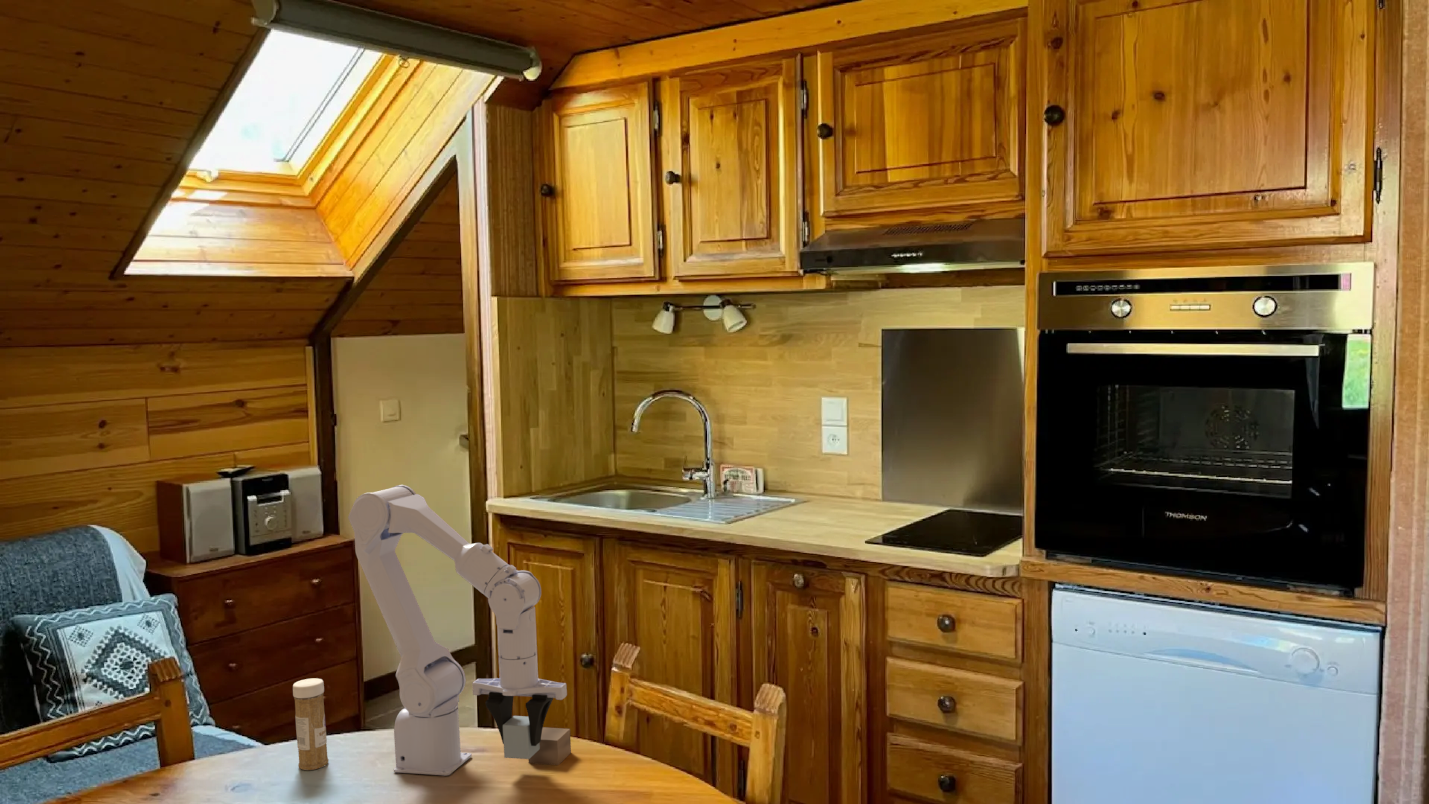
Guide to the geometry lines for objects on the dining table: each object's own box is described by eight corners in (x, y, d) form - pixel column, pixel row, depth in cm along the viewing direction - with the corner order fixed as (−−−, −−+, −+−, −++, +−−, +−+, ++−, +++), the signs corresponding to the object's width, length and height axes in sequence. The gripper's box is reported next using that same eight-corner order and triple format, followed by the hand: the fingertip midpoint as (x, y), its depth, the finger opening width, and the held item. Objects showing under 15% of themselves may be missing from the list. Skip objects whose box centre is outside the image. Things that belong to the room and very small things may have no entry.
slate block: (504, 757, 163) (502, 725, 162) (515, 747, 167) (513, 715, 166) (529, 759, 162) (527, 726, 161) (539, 749, 166) (538, 717, 165)
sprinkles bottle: (331, 766, 170) (326, 682, 169) (301, 773, 168) (296, 688, 167) (324, 757, 174) (319, 675, 173) (295, 764, 172) (289, 681, 171)
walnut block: (528, 763, 168) (527, 738, 168) (542, 751, 173) (540, 727, 173) (558, 765, 167) (557, 740, 167) (571, 753, 172) (569, 728, 172)
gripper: (461, 660, 161) (465, 749, 162) (552, 664, 158) (556, 755, 158) (482, 646, 168) (486, 732, 169) (570, 650, 164) (573, 737, 165)
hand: (521, 742), depth 164 cm, fingers closed on slate block, 4 cm apart
